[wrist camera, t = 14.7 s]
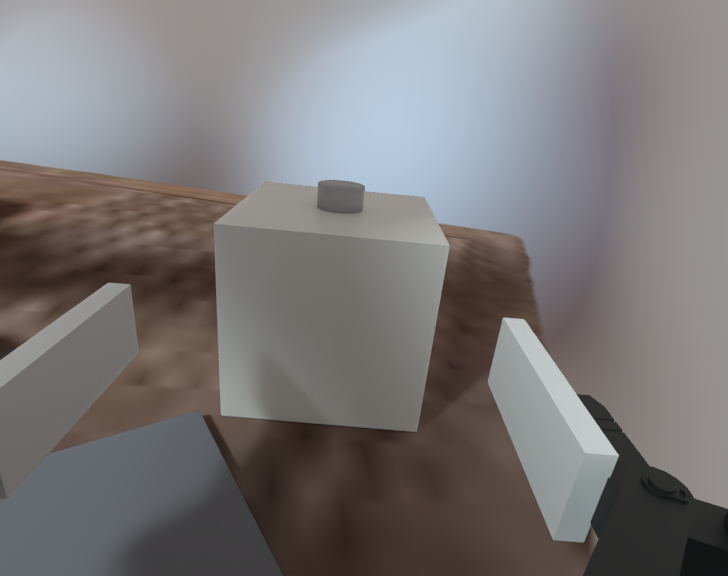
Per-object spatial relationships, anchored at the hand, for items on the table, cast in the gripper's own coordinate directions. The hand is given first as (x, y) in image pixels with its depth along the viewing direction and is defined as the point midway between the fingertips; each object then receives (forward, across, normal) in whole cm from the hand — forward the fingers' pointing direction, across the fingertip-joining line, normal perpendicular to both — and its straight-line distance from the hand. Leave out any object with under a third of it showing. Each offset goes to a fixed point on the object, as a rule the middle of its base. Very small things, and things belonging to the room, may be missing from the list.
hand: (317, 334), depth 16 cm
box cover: (+9, 0, -8) cm, 12 cm away
